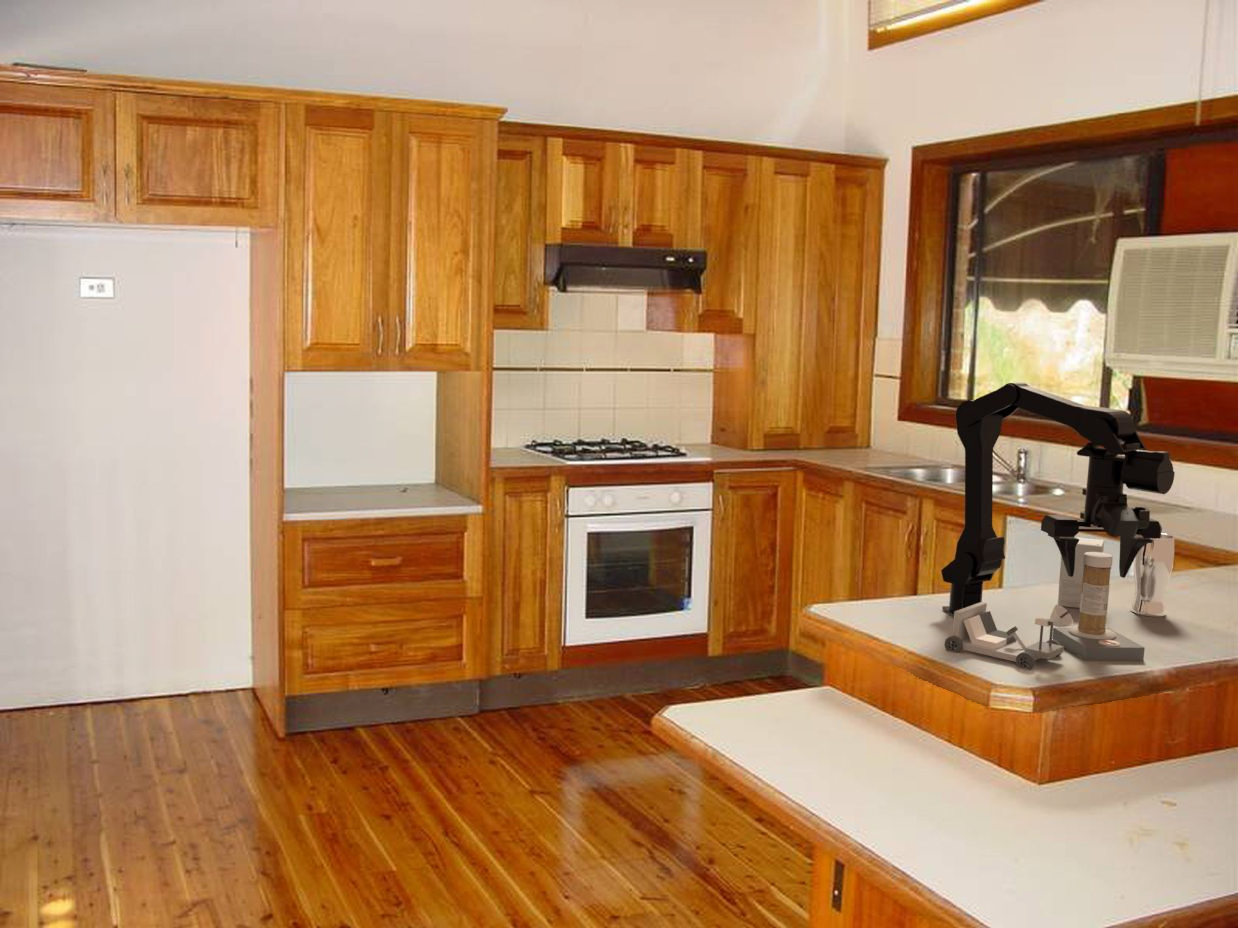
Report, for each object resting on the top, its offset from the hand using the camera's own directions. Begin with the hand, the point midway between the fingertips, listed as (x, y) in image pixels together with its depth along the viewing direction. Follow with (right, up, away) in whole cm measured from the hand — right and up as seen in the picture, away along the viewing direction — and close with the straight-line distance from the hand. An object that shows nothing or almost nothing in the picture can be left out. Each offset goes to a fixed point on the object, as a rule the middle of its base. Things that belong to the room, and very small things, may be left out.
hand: (1096, 576), depth 211 cm
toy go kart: (-16, -13, -5) cm, 21 cm away
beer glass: (+20, -9, +27) cm, 35 cm away
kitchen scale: (0, -12, 0) cm, 12 cm away
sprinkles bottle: (0, -10, +1) cm, 10 cm away
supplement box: (+8, -8, +31) cm, 34 cm away
